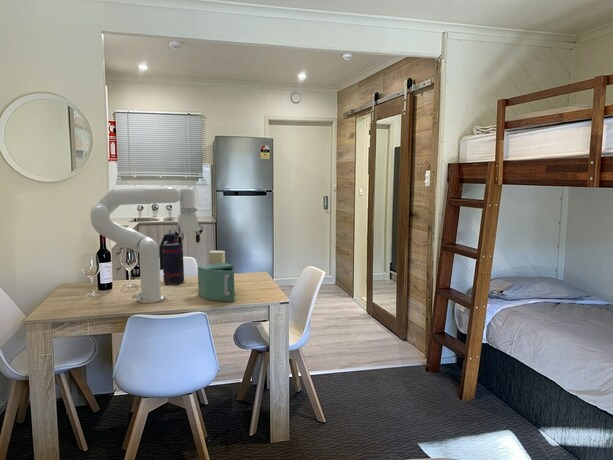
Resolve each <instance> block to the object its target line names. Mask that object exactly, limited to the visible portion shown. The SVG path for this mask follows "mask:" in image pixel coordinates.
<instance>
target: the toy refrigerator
mask: <svg viewBox="0 0 613 460" xmlns="http://www.w3.org/2000/svg"><path fill="white" fill-rule="evenodd" d="M207 255H208V265H210V264H218V263H226V251H225V250H210V251H208V254H207Z"/></svg>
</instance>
